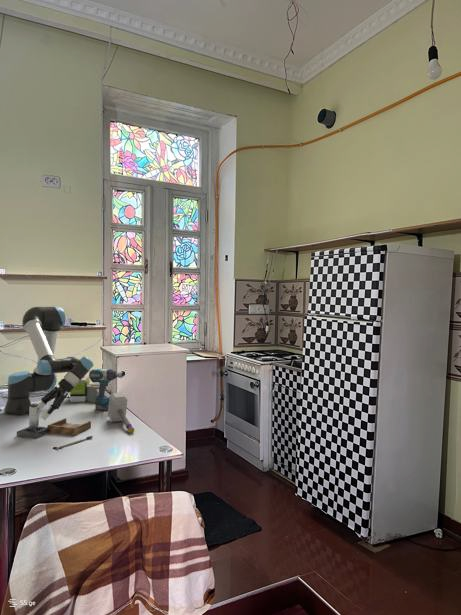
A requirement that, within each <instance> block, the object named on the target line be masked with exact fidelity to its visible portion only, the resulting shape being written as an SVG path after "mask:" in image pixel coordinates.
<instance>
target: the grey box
mask: <svg viewBox="0 0 461 615" xmlns="http://www.w3.org/2000/svg"><path fill="white" fill-rule="evenodd" d="M99 386H100V383H98V384H90V385H88V386H87V400H86V402H88V403H97V402H96V397H97V396H98V395H99Z"/></svg>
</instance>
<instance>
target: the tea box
mask: <svg viewBox="0 0 461 615" xmlns="http://www.w3.org/2000/svg"><path fill="white" fill-rule="evenodd" d="M90 381H91V379H90V378H89V375H85V376H84V377H83V378H82V379H81V380H80V381H79V384H77V385H76V386H73V387H74V388H73V389H72V390H71V392H69V401H70V403H74V402H75V403H77V402H79V403H83V402H84V403H85V402H87V386H88V385H91V382H90Z"/></svg>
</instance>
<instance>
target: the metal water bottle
mask: <svg viewBox="0 0 461 615" xmlns="http://www.w3.org/2000/svg"><path fill="white" fill-rule="evenodd" d="M38 404H39V403H31V406H30V407H29V413H28V415H29V416H28V417H29V418H28V419H29V421H28V427H29V431H31V432H36V431H38V430H39V426H40V425H39V423H40V411H39V406H38Z"/></svg>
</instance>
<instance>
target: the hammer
mask: <svg viewBox="0 0 461 615" xmlns="http://www.w3.org/2000/svg"><path fill="white" fill-rule="evenodd" d="M108 397H109V407H108V410H107V416H108V418H109V419H110V422H111V423H118V422H119V423H120V422H123V423H124V425H125V428H126V430H127V432H128V433H129V434H133V433H135V428H134V426H133V425H132V423H130V421H129V420H128V418H127V416H126V415H127V408H128V407H127V406H128V405H127V404H128V399H127V396H125V394H124V393H123V392H114V393H111V394H109V396H108Z"/></svg>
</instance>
